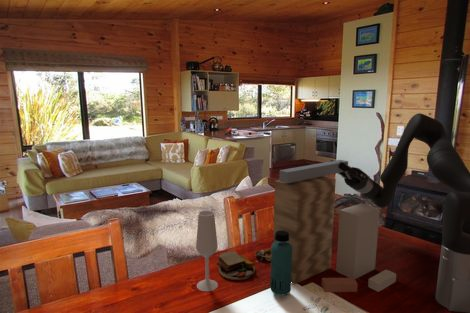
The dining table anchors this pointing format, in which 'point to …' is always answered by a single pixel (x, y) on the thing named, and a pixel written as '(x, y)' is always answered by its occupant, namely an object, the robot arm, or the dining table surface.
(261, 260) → the pastry
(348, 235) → the cream stand
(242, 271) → the toy sandwich meal
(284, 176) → the gray bar
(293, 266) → the oak stand
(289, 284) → the beverage bottle
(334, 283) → the brown rectangular block
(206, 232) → the champagne flute
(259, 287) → the dining table surface
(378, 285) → the beige rectangular block
